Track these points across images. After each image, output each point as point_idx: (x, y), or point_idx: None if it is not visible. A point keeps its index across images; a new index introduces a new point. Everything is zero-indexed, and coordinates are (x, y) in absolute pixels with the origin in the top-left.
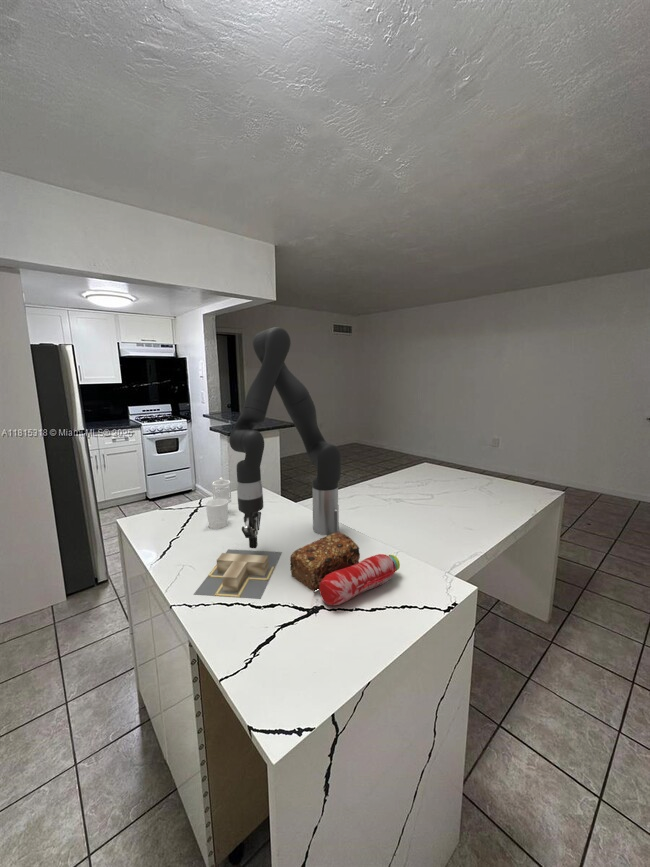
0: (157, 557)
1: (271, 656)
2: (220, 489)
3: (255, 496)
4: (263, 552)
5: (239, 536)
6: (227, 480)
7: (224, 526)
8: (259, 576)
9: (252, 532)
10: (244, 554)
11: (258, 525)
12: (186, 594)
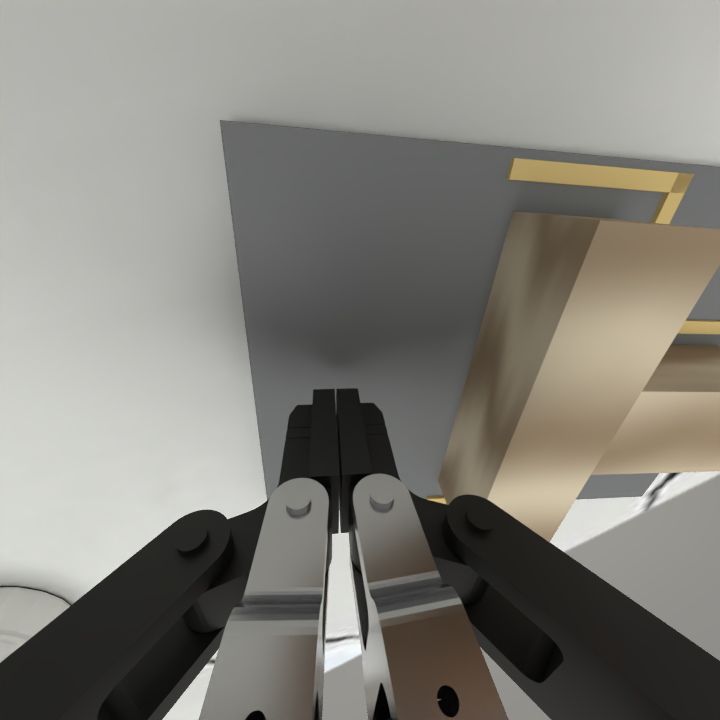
0: (346, 643)
1: None
2: None
3: None
4: (266, 313)
5: (66, 509)
6: None
7: (11, 606)
8: None
9: (605, 626)
10: (513, 440)
11: (275, 654)
12: (594, 508)
